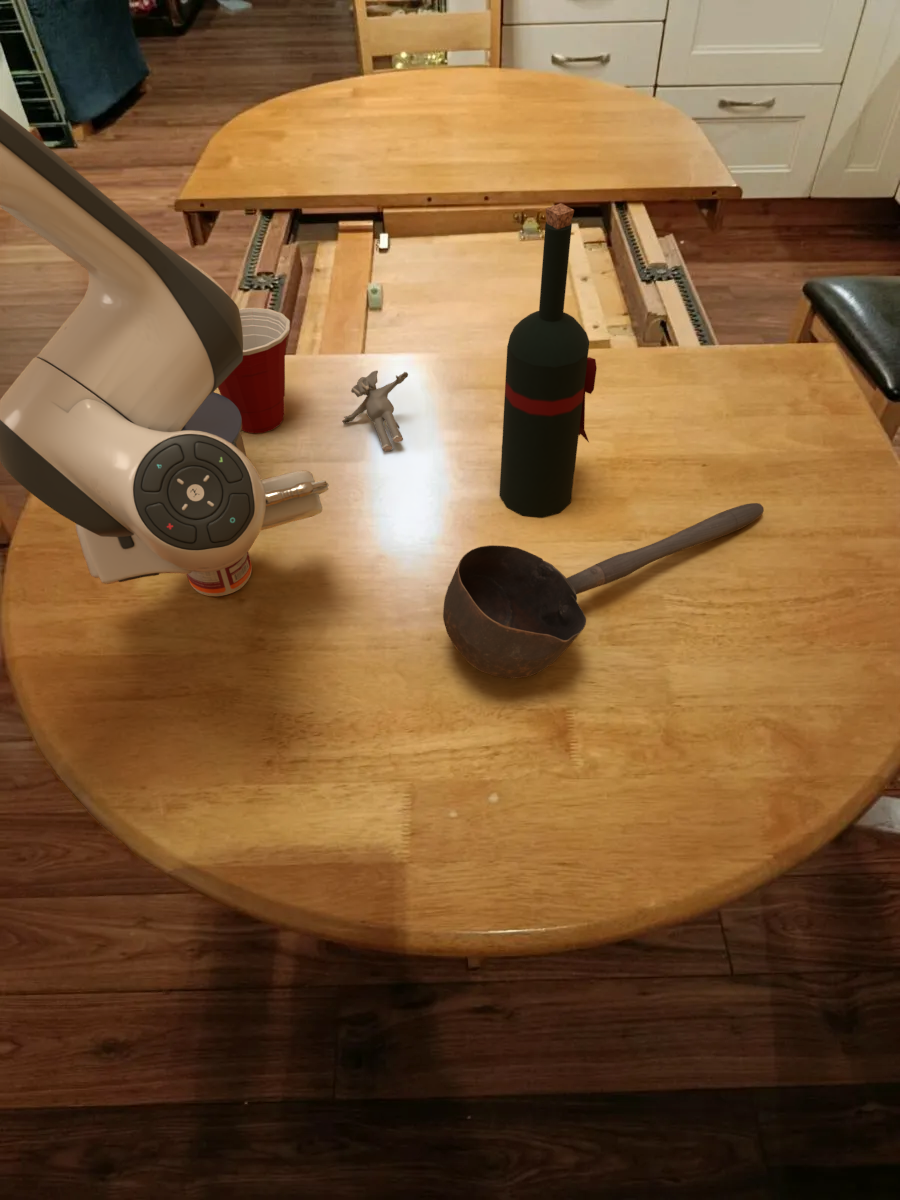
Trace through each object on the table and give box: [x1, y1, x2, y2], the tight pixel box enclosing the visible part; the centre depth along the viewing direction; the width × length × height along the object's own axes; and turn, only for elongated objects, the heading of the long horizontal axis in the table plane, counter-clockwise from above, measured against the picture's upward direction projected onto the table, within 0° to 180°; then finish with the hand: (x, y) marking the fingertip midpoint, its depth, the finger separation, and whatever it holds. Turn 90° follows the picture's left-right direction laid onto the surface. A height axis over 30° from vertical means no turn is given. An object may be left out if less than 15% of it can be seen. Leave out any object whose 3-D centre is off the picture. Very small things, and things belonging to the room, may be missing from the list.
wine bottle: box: [498, 203, 598, 519], centre depth 80 cm, size 8×10×30 cm
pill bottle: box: [186, 551, 253, 597], centre depth 79 cm, size 6×6×11 cm
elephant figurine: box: [341, 370, 409, 452], centre depth 97 cm, size 10×6×9 cm
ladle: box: [442, 502, 765, 679], centre depth 80 cm, size 12×38×10 cm, turn 124°
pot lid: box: [181, 391, 243, 445], centre depth 84 cm, size 14×14×4 cm
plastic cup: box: [217, 307, 291, 434], centre depth 96 cm, size 11×11×12 cm
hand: (206, 527), depth 79 cm, fingers closed on pill bottle, 6 cm apart
